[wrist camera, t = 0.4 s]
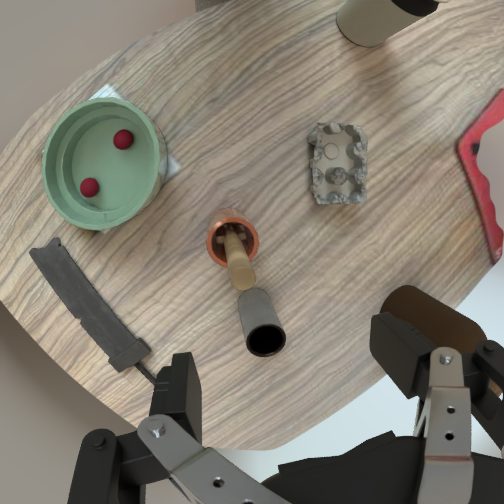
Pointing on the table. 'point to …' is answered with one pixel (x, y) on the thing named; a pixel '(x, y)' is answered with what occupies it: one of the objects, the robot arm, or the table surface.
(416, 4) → the travel mug
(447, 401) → the robot arm
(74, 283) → the toy broadsword
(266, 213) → the table surface
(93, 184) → the bead
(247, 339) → the grey tube
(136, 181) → the bowl
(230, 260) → the wooden stick
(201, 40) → the table surface
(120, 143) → the bead
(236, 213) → the utensil pot
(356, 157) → the egg carton
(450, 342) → the olive oil
